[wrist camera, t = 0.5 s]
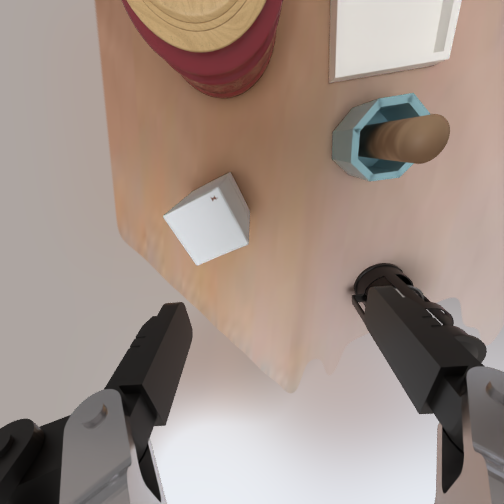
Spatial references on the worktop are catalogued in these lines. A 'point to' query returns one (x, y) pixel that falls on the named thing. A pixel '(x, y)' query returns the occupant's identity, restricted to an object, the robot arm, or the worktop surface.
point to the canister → (210, 39)
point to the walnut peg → (405, 139)
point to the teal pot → (366, 114)
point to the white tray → (389, 36)
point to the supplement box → (211, 220)
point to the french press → (415, 294)
